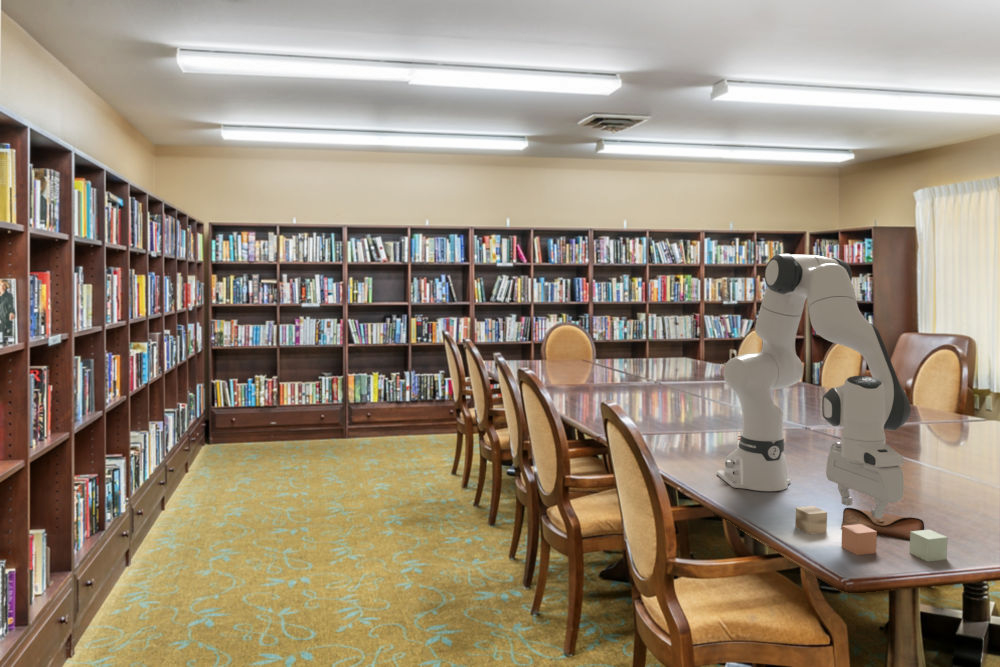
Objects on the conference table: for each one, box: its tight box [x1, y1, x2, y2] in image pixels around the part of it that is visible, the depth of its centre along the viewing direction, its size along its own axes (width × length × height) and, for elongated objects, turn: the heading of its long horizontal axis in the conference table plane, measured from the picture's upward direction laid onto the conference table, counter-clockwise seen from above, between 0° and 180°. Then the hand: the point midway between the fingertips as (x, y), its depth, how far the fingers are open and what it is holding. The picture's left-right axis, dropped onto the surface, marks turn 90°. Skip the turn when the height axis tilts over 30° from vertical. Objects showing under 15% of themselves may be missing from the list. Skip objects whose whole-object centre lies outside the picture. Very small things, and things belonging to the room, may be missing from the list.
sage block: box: [909, 529, 948, 562], centre depth 162 cm, size 5×5×5 cm
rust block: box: [840, 524, 878, 556], centre depth 166 cm, size 5×5×5 cm
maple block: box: [794, 505, 828, 535], centre depth 179 cm, size 5×5×5 cm
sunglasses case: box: [840, 507, 925, 541], centre depth 179 cm, size 18×7×7 cm, turn 59°
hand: (861, 510), depth 165 cm, fingers open, 8 cm apart
